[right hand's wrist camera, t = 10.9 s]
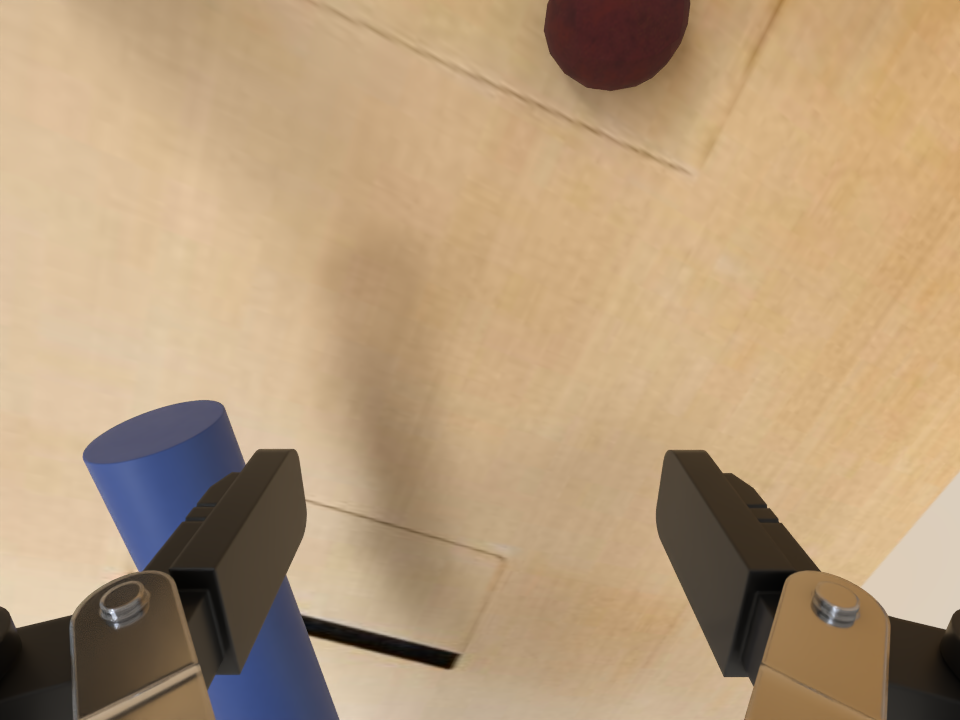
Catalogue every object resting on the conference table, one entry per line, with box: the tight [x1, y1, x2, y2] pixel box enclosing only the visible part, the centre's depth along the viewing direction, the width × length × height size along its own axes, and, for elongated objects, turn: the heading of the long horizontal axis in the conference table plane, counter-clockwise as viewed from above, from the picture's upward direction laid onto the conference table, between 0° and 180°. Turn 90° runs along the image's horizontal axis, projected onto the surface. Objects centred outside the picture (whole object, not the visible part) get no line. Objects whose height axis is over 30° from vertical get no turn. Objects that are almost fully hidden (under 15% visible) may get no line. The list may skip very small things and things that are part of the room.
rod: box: [83, 400, 339, 720], centre depth 30 cm, size 28×6×6 cm, turn 9°
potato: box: [544, 0, 690, 91], centre depth 29 cm, size 7×8×7 cm
